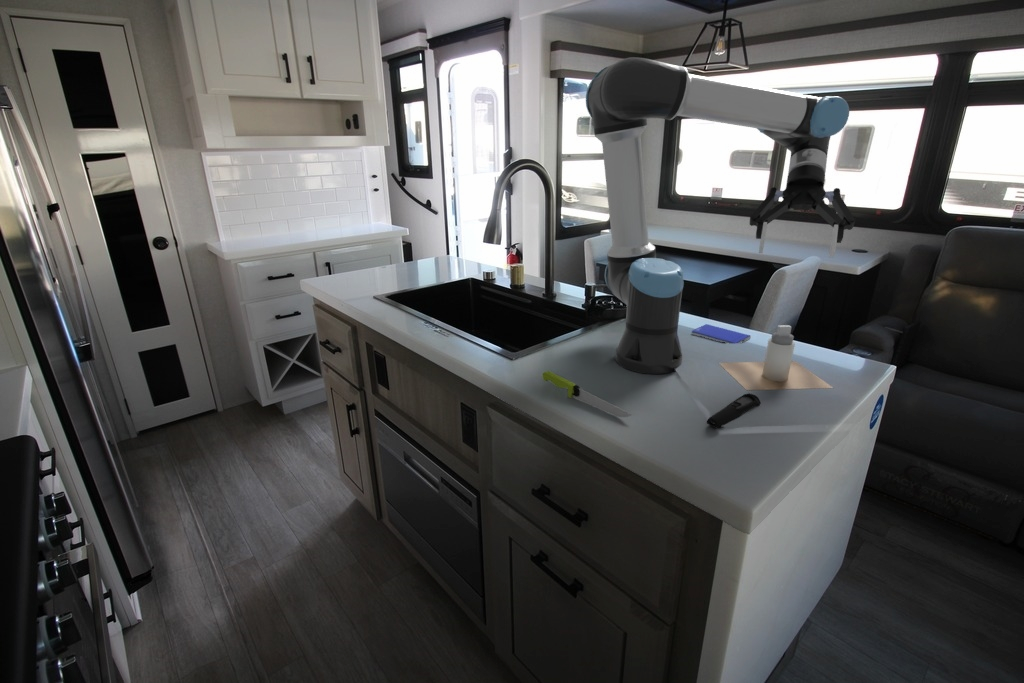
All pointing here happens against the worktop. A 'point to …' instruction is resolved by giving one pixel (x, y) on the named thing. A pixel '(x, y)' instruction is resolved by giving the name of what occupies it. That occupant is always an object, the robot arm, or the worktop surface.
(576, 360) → the worktop surface
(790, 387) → the board
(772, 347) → the white bottle
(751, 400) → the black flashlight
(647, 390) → the worktop surface
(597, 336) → the worktop surface
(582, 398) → the kitchen knife
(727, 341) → the hard drive
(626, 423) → the worktop surface
